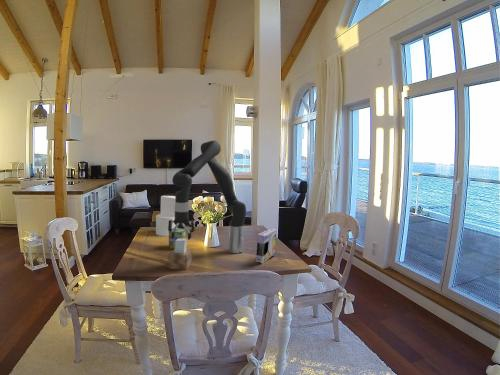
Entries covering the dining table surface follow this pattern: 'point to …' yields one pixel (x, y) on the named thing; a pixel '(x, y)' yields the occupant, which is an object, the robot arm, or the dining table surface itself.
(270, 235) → the cake pan box
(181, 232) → the green tin canister
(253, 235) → the dining table surface
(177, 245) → the block
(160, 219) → the white stepped tower
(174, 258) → the walnut box
